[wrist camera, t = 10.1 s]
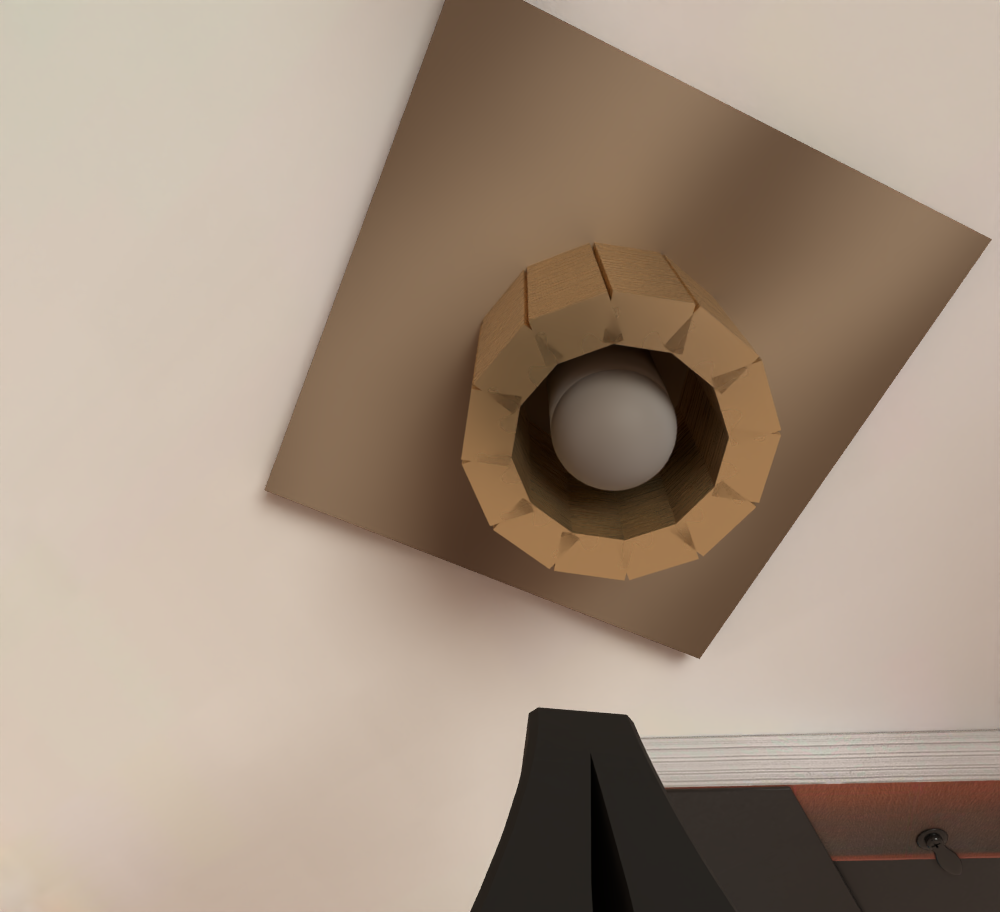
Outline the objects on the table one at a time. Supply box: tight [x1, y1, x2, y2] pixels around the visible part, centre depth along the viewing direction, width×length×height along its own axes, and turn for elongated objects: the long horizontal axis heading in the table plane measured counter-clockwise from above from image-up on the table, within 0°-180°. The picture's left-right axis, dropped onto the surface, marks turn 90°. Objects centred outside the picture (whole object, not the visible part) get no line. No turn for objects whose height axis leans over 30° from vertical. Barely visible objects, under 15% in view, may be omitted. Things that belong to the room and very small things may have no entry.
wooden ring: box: [461, 242, 781, 581], centre depth 17 cm, size 6×6×4 cm
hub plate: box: [265, 0, 992, 659], centre depth 17 cm, size 12×12×5 cm
